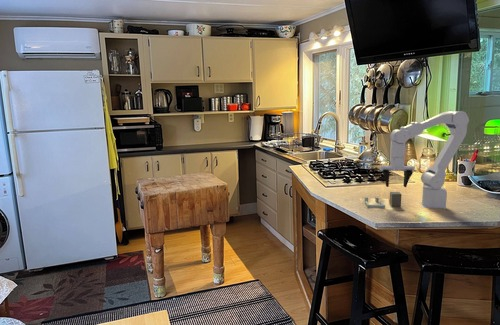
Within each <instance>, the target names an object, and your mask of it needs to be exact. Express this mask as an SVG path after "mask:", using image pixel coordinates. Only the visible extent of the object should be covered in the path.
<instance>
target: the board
mask: <svg viewBox="0 0 500 325" xmlns="http://www.w3.org/2000/svg"><path fill="white" fill-rule="evenodd" d="M358 199H359V201H360V203H361V204H362V206H363V208H364V209H365V210H384V211H385V210H388V211H389V210H392V211H394V210H395V211H405V208H403V206H401V207H391V206H390V205H389V202H390V201H389V200H388V198H379V202H376V201H375V198H373V197H372V198H369V197H368V203H369V205H380V201H382V202H383V203H384V205H385V208H367V206H366V205H365V197H362V198H361V197H360V198H358Z"/></svg>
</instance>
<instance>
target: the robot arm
mask: <svg viewBox="0 0 500 325" xmlns="http://www.w3.org/2000/svg"><path fill="white" fill-rule="evenodd" d="M469 122H470V118H469V116H468V114H467V113H466V112H465V111H463V110H459V111H458V110H451V109H450V110H447V111H444V112H441V113H439V114H437V115H435V116H433V117H430V118H428V119H426V120H424V121H422V122H419V121H411V122H410V124H408V125H406V126H400V129H398V128H397V129H393V130H392V131H391V133H390V134H389V136H388V137H389V139H390V142H391V147H390V162H389V163H390V164H389V165H379V171H380V172H381V173H382V176H383V178H384V182H385V187H387V188H389V185H390V182H389V181H390V174H391V173H390V171H391V172H393V171H395V172H397V171H399V172H403V188H407V186H408V183H409V181H410V178H411V176H412V175H413V172H415V171H416V167H415V166H414V165H413V166H412V165H405V159H406V158H405V157H406V156H405V155H406V143H407V142H408V140H410V139H412V138H414V137H415V138H416V137H417V136H420V135H421V134H423V132H424V130H427V129H430V128H432V127H436V126H439V125H440V124H444V125H446V127H447V128H448V129H449V131H450V135H449V136H448V138H447V140H446V142H445V144H444V145H443V147H442V149H441V151H440V152H439V154H438V156H437V157H436V159H435V161H434V163H433V164H432V165H430V166H429V167H428V168H427V169H426V171H424V172H422V174H421V177H420V181H421V182H422V183H423V186H422V195H421V196H422V198H421V202H419V203H418V204H419V205H421V207H423V208H425V209H444V210H447V197H448V195H447V189H446V188H445V187H443V186H444V185H445V179H446V177H447V172H446V170H447V168H448V167H449V165H450V163H451V162H452V159H453V158H454V156H455V154H456V152H458V150H459V148H460V146H461V145H462V143H463V141H464V139H465V138H466V135H467V130H468V124H469Z"/></svg>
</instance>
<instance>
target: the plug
mask: <svg viewBox="0 0 500 325" xmlns="http://www.w3.org/2000/svg"><path fill="white" fill-rule="evenodd" d="M402 195H403V194H402V193H401V192H400V191H390V192H389V196H388V197H387V199H388V200H389V201H390V202H389V205H390V206H391V207H402Z"/></svg>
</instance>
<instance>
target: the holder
mask: <svg viewBox="0 0 500 325" xmlns="http://www.w3.org/2000/svg"><path fill="white" fill-rule="evenodd" d="M365 205H366V206H367V208H385V205H384V203H383V202H382V201H380V205H369V203H368V202H367V201H365Z"/></svg>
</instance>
